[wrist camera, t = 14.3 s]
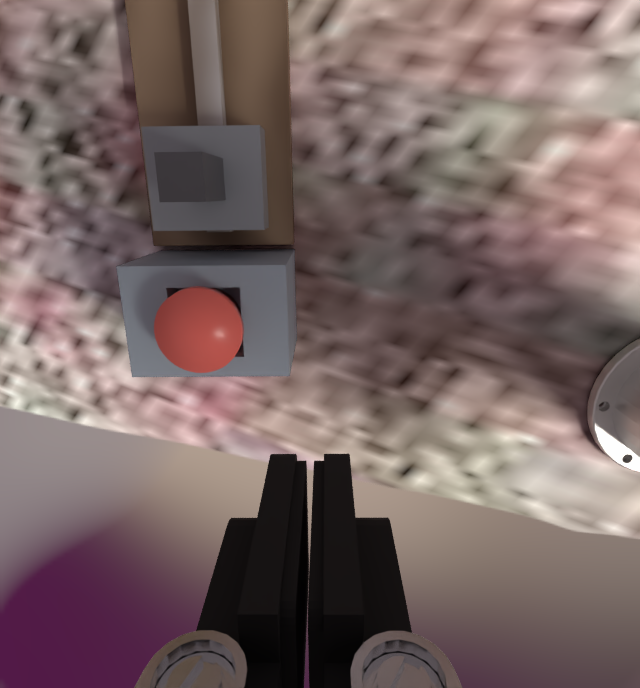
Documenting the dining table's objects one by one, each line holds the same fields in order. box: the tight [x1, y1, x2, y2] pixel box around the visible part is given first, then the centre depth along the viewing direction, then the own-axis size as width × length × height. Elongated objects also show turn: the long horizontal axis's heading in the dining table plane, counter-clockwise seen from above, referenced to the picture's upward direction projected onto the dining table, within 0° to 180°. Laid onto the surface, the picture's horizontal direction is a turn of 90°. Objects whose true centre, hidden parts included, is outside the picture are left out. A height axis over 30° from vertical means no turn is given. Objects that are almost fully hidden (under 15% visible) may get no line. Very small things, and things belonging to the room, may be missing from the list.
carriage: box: [141, 125, 269, 231], centre depth 28 cm, size 7×6×8 cm
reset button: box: [154, 286, 244, 373], centre depth 29 cm, size 5×5×4 cm
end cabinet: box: [116, 249, 297, 377], centre depth 32 cm, size 10×7×8 cm
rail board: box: [125, 0, 294, 246], centre depth 29 cm, size 10×24×4 cm, turn 1°
